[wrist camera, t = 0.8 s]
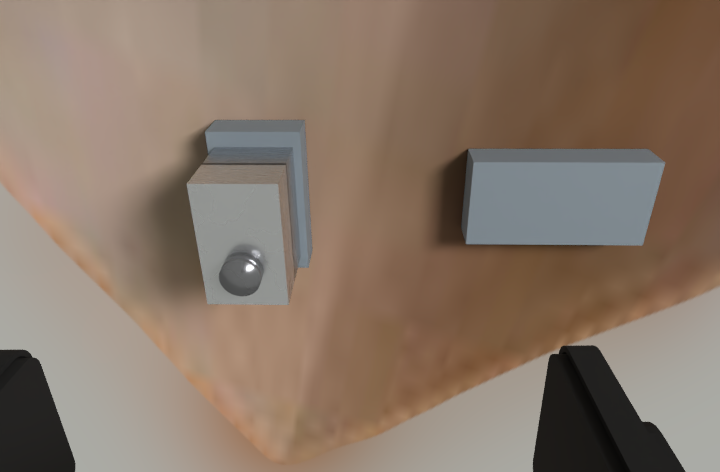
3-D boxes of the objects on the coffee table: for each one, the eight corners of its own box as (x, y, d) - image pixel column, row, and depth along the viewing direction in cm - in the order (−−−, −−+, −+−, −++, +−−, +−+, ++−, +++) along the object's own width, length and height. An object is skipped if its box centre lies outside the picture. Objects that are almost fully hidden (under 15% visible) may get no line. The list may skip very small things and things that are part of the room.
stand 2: (468, 148, 37) (473, 162, 35) (648, 149, 37) (665, 162, 35) (461, 227, 40) (465, 244, 38) (628, 228, 40) (642, 245, 38)
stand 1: (215, 120, 37) (204, 131, 35) (304, 120, 37) (299, 131, 34) (233, 249, 42) (225, 266, 39) (312, 249, 41) (308, 267, 39)
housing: (215, 147, 35) (180, 191, 29) (292, 147, 35) (274, 191, 29) (230, 254, 39) (203, 313, 33) (300, 255, 39) (286, 314, 33)
